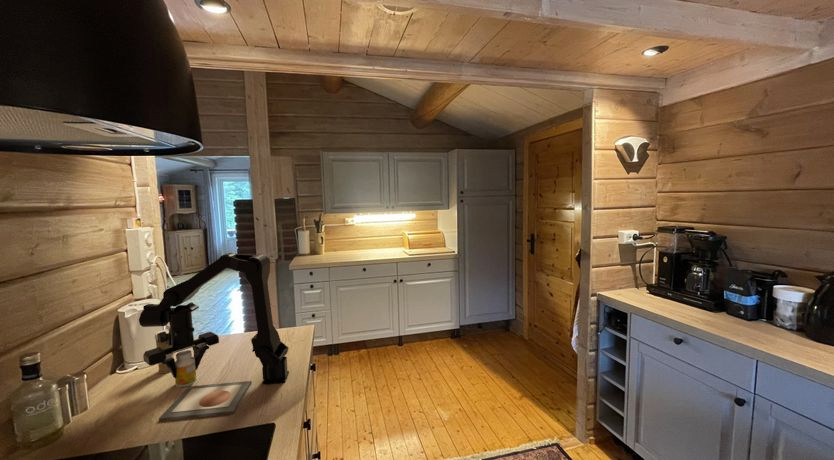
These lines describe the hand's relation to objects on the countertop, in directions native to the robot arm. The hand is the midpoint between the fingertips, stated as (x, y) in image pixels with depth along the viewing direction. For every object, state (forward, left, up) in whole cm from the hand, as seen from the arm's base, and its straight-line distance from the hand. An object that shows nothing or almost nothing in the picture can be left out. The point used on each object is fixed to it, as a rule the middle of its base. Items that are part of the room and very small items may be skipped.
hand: (185, 373), depth 106 cm
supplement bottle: (0, 0, -3) cm, 3 cm away
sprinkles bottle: (+11, -9, -3) cm, 15 cm away
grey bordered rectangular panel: (-11, +12, -3) cm, 16 cm away
